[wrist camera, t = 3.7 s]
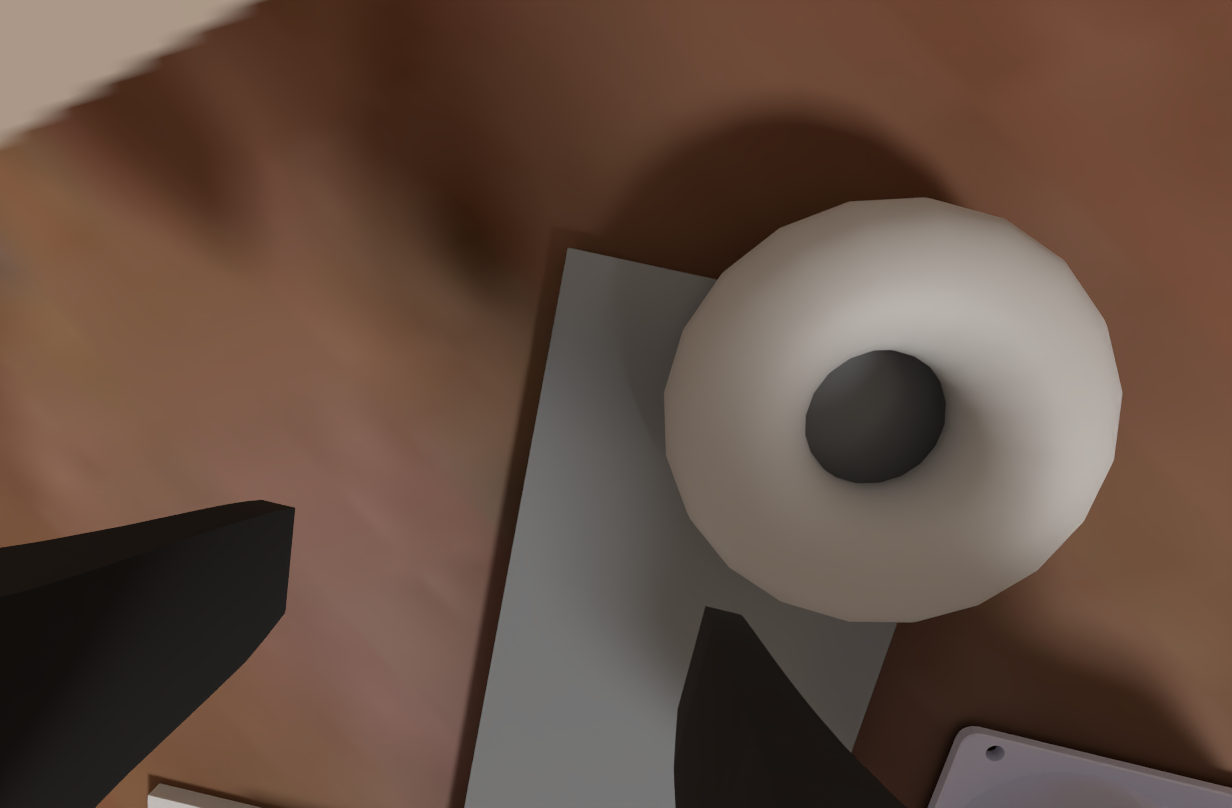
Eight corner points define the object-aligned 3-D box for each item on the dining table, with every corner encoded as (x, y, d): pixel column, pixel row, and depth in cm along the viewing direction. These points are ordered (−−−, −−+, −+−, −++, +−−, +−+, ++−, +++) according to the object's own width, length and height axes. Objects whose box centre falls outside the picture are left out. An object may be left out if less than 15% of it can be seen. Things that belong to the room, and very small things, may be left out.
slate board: (982, 336, 17) (996, 340, 16) (764, 964, 22) (767, 990, 21) (572, 248, 17) (568, 247, 16) (454, 882, 22) (446, 905, 21)
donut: (696, 160, 12) (1235, 217, 12) (689, 182, 16) (1107, 227, 15) (636, 621, 14) (1084, 685, 14) (641, 553, 18) (1003, 603, 17)
